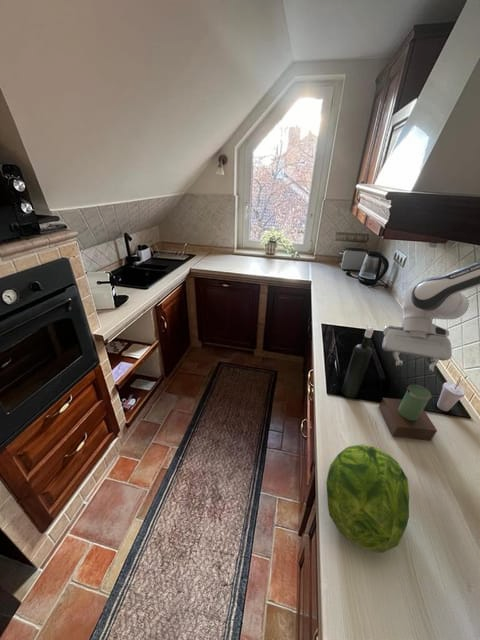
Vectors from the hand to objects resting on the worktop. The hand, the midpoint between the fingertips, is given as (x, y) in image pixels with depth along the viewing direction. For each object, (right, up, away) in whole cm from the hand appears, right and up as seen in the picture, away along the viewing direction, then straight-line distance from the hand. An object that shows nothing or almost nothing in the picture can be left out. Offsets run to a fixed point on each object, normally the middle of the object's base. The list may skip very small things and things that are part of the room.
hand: (414, 368), depth 86 cm
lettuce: (-29, -31, -20) cm, 47 cm away
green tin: (-3, -15, -1) cm, 15 cm away
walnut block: (-3, -19, +2) cm, 19 cm away
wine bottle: (-17, -12, +13) cm, 24 cm away
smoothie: (+16, -16, +8) cm, 24 cm away
